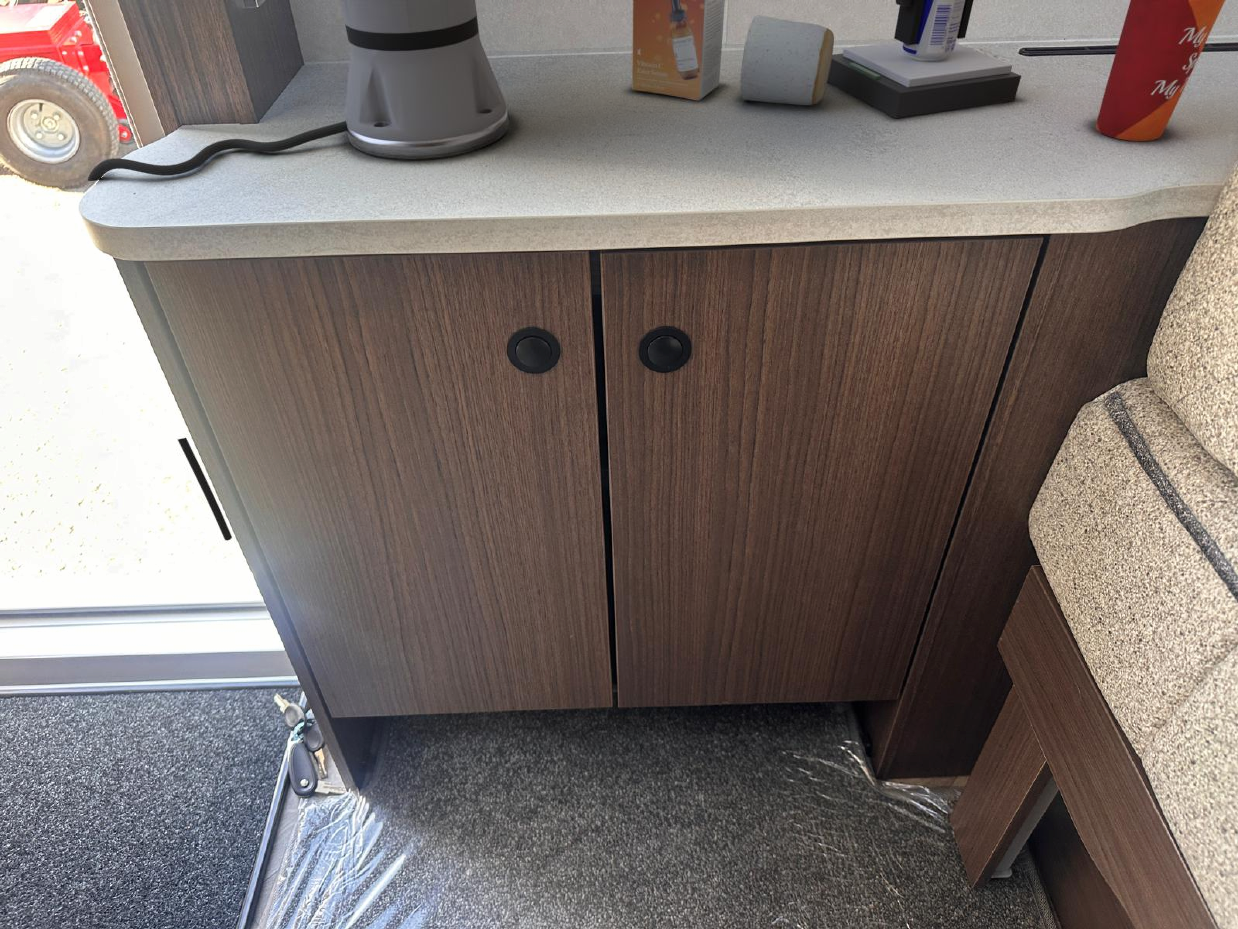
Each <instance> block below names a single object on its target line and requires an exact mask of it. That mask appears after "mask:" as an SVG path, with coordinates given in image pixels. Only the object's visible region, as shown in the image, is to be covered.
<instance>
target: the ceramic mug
mask: <svg viewBox="0 0 1238 929" xmlns="http://www.w3.org/2000/svg"><path fill="white" fill-rule="evenodd" d="M746 34H747V35H746V39H745V42H744V47H743V53H742V59H741V67H740V79H739V93H740V97H741V99H742V100H744V101H750V102H751V101H752V102H761V103H762V102H763V103H772V104H773V103H774V104H775V103H776V104H786V105H794V106H812V105H816V104H818V103H819V102H821V101H822V99H823V97H824V94H825V91H826V87H827V83H828V82H827V80H828V75H829V70H830V66H831V60H832V55H834V53H833V52H834V46H835V45H834V44H835V35H834V32H833V31H832V29H829V28H828V27H826V26H823V25H820V24H815V23H809V22H802V21H795V20H790V19H782V18H777V17H770V16H766V15H755V16H754V17H753V19H752V21H751V23H750V24H749V27H748V30H747V33H746Z"/></svg>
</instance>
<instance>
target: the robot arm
mask: <svg viewBox="0 0 1238 929" xmlns="http://www.w3.org/2000/svg"><path fill="white" fill-rule="evenodd" d="M974 2H975V1H974V0H965V3H964V8H963V12H962V17H961V21H960V26H959V30H958V35H957V39H958V40H960V39H966V36H967V31H968V28H969V22H970V18H971V13H972V9H973V6H974ZM339 3H340V8H341V13H342V17H343V22H344V26H345V31H346V36H347V41H348V47H349V63H348V76H347V87H346V97H345V98H346V100H345V111H344V119H345V121H344V120H343V121H341V122H337V123H333V124H329V125H325V126H322V127H318V128H315V129H310V130H308V131H305V132H301V133H298V134H296V135H294V136H290V137H287V138H284V139H280V140H275V141H268V142H267V141H256V140H251V139H243V138H229V139H223V140H218V141H216V142H213V143H210V144H209V145H206V146H204V147H203V148H202V149H201V150H200V151H199V152H197V154H195V155H194V156H193V157H191V158H190V159H188V160H185V161H182V162H180V163H175V164H163V165H161V164H153V163H146V162H142V161H137V160H133V159H127V158H118V157H117V158H116V157H115V158H107V159H105V160H103V161H101V162H99V163H98V164H97V165H96V166H95V167H94V168H93V169H92V170H91V171H90V173H89V175H88V177H87V181H88V182H96V181H99V180H101V179H102V178H103V177H104V175H106V174H107V173H108V172H110V171H112V170H130V171H134V172H137V173H142V174H148V175H152V176H153V175H154V176H163V177H164V176H165V177H166V176H176V175H182V174H185V173H189V172H191V171H194V170H196V169H197V168H199V167H201V166H202V165H204V164H205V163H206V162H207V161H208V160H209V159H210V158H211V157H213V156H214V155H216V154H218V153H220V152H224V151H227V150H234V149H238V150H239V149H241V150H247V151H253V152H260V153H274V152H275V153H276V152H282V151H286V150H289V149H293V148H295V147H298V146H301V145H303V144H307V143H309V142H313V141H317V140H320V139H323V138H328V137H330V136H334V135H338V134H342V133H345V132H347V136H348V141H349V142H350V144H351V145H352V146H353V147H354V148H356V149H357V150H359V151H361V152H363V153H366V154H369V155H373V156H378V157H383V158H390V159H402V160H403V159H405V160H410V159H411V160H415V159H417V160H419V159H433V158H444V157H449V156H454V155H460V154H464V153H468V152H471V151H476V150H478V149H481V148H483V147H486V146H488V145H490V144H492V143H494V142H496V141H498V140H499V139H501V137H503V136H504V135H505V134H506V133H507V132H508V129H509V127H510V126H509V125H510V123H509V114H508V106H507V103H506V99H505V97H504V95H503V92H502V90H501V87H500V85H499V83H498V81H497V78H496V75H495V73H494V71H493V68H492V66H491V64H490V61H489V59H488V57H487V54H486V51H485V49H484V46H483V44H482V41H481V37H480V36H481V35H480V29H479V21H478V11H477V3H476V0H339ZM895 4H896V5H898V6H899V8H898V13H897V20H896V25H895V31H894V37H893V39H894V40H896V41H897V42H899V41H901V42H903V43H906V44H908V45H914V44H916V42H917V36H918V31H919V26H920V21H921V16H922V11H923V5H924V0H895ZM176 440H177V442H178V444H179V446H180V447H181V450H182V452H183V454H184V456H185V458H186V460H187V462H188V465H189V466H190V469H191V470H192V472H193V474H194V476H195V478H196V480H197V482H198V484H199V486H200V489H201V491H202V493H203V495H204V497H205V500H206V502H207V504H208V506H209V507H210V508H209V509H210V511H211V513H212V514H213V517H214V519H215V521H216V523H217V526H218V528H219V530H220V532H221V534H222V537H223V539H224V541H227V542H228V541H231V540H232V538H233V536H232V533H231V531H230V529H229V527H228V524H227V522H226V519H225V517H224V515H223V513H222V511H221V507H220V506H219V504H218V502H217V500H216V497H215V495H214V492H213V491H212V488H211V486H210V484H209V482H208V479H207V478H206V475H205V474H204V472H203V470H202V467H201V465H200V463H199V461H198V459H197V457H196V455H195V452H194V451H193V449H192V447H191V444H190V443H189V441H188V438H187V437H182V438H177V439H176Z"/></svg>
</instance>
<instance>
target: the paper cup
mask: <svg viewBox="0 0 1238 929" xmlns="http://www.w3.org/2000/svg"><path fill="white" fill-rule="evenodd" d="M1225 2H1226V0H1130V1H1129V4H1128V8H1127V11H1126V15H1125V19H1124V21H1123V25H1122V29H1121V33H1120V36H1119V40H1118V44H1117V45H1116V46H1117V47H1116V50H1115V54H1114V57H1113V61H1112V65H1111V68H1110V72H1109V75H1108V79H1107V82H1106V86H1105V90H1104V93H1103V97H1102V99H1101V100H1102V101H1101V105H1100V108H1099V111H1098V116H1097V119H1096V124H1095V129H1096V131H1098V132H1099V133H1101V134H1103V135H1104V136H1107V137H1111V138H1114V139H1119V140H1124V141H1131V142H1133V141H1134V142H1149V141H1155V140H1158V139H1159V138H1161V137H1162V135H1163V133H1164V132H1165V130H1166V128H1167V125H1168V124H1169V122H1170V120H1171V118H1172V116H1173V114H1174V111H1175V109H1176V107H1177V106H1178V103H1179V101H1180V99H1181V97H1182V94H1183V92H1184V90H1185V88H1186V86H1187V83H1188V82H1189V80H1190V77H1191V75H1192V73H1193V70H1194V69H1195V66H1196V65H1197V62H1198V60H1199V58H1200V55H1201V54H1202V52H1203V50H1204V47H1205V45H1206V42H1207V41H1208V39H1209V36H1210V34H1211V32H1212V30H1213V28H1214V26H1215V23H1216V21H1217V19H1218V17H1219V15H1220V12H1221V11H1222V8H1223V6H1224V4H1225Z"/></svg>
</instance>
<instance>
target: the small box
mask: <svg viewBox="0 0 1238 929" xmlns="http://www.w3.org/2000/svg"><path fill="white" fill-rule="evenodd" d="M725 3H726V0H632V57H631V58H632V59H631V60H632V62H631V65H632V68H631V72H632V77H631V78H632V80H631V81H632V82H631V87H632V89H631V90H632V91H639V92H640V91H641V92H647V93H653V94H659V95H667V96H671V97H677V98H683V99H687V100H692V101H701V100H702V99H703V98H704V97H705V96H707V95H708V94H709V93H711V92H713V91H714V90H715V89H716V88H718V87H719V86H720V80H721V78H720V77H721V65H722V64H721V63H722V62H721V61H722V51H723V50H722V49H723V33H724V20H725V6H726V5H725Z"/></svg>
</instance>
